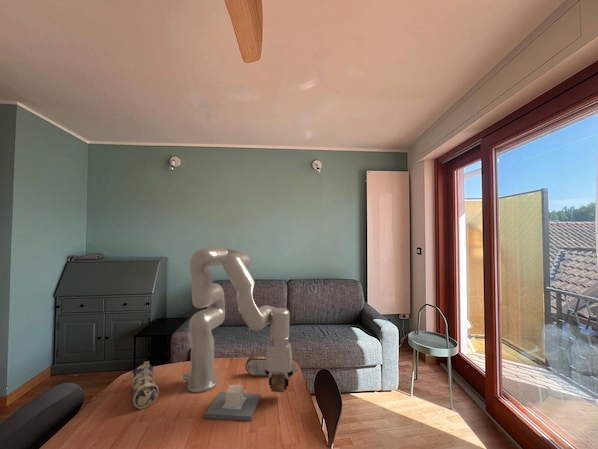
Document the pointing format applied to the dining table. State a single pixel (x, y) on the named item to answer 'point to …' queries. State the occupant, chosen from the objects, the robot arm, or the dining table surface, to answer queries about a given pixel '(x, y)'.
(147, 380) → the pencil case
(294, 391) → the dining table surface
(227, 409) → the grey tray
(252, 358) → the tin
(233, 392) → the off-white block
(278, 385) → the walnut block
